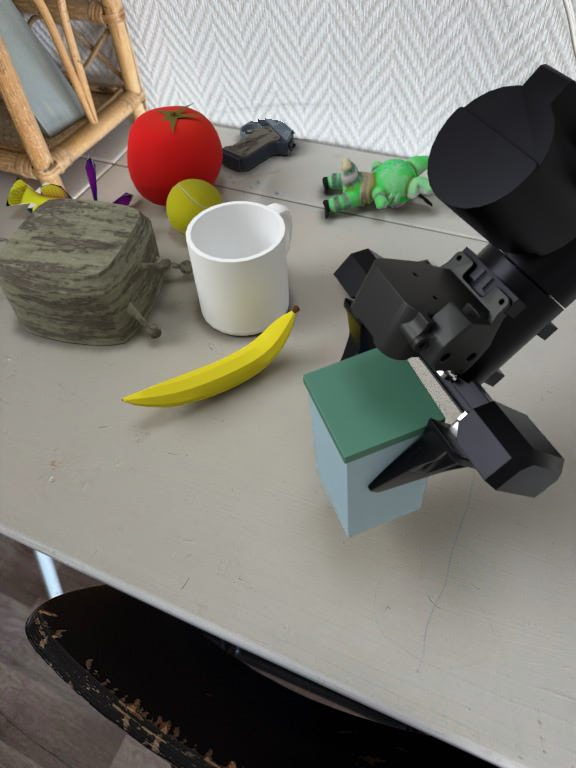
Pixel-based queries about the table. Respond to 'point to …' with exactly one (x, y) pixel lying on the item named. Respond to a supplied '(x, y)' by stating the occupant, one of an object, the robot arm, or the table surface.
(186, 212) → the tennis ball
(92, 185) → the toy
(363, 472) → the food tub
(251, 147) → the handgun
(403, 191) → the toy
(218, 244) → the mug
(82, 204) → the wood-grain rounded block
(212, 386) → the banana
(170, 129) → the tomato
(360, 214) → the table surface
